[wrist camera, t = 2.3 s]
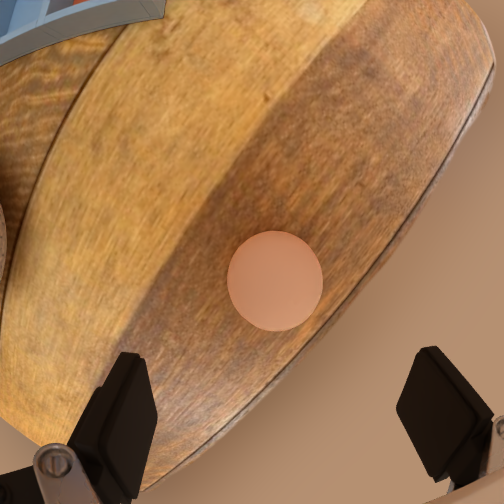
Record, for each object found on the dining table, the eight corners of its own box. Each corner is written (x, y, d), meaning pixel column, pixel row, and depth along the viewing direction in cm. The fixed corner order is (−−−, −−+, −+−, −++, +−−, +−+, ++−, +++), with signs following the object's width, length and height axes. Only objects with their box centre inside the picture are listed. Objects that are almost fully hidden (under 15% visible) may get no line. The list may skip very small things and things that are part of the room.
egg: (229, 220, 21) (219, 254, 14) (312, 221, 21) (344, 254, 14) (231, 296, 23) (224, 357, 15) (307, 295, 23) (330, 354, 16)
